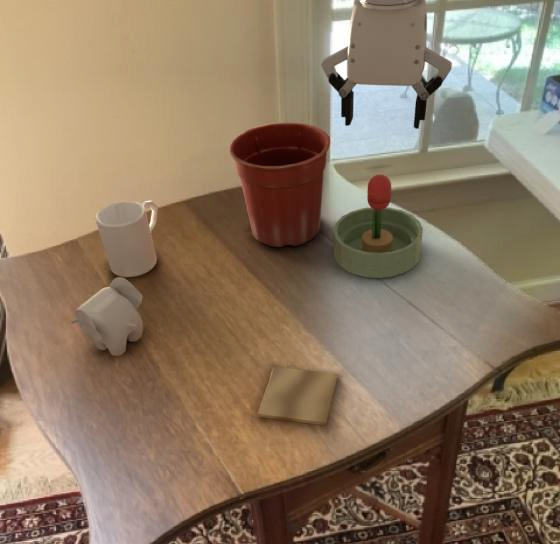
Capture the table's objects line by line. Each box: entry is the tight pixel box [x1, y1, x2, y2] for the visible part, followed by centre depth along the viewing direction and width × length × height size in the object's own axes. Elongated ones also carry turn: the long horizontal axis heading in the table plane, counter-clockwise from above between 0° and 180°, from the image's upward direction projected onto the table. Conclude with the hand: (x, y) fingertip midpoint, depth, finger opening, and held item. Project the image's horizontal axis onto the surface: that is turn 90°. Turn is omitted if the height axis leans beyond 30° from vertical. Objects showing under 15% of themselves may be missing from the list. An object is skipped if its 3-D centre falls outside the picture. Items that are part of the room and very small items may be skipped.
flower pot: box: [228, 122, 331, 248], centre depth 112 cm, size 16×16×16 cm
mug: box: [94, 200, 159, 278], centre depth 111 cm, size 8×12×10 cm, turn 146°
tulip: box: [362, 174, 393, 253], centre depth 104 cm, size 5×5×14 cm
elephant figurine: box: [70, 276, 144, 357], centre depth 96 cm, size 10×12×9 cm
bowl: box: [332, 206, 424, 279], centre depth 108 cm, size 14×14×5 cm
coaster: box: [257, 366, 339, 426], centre depth 87 cm, size 9×9×1 cm
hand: (382, 123), depth 94 cm, fingers open, 9 cm apart
